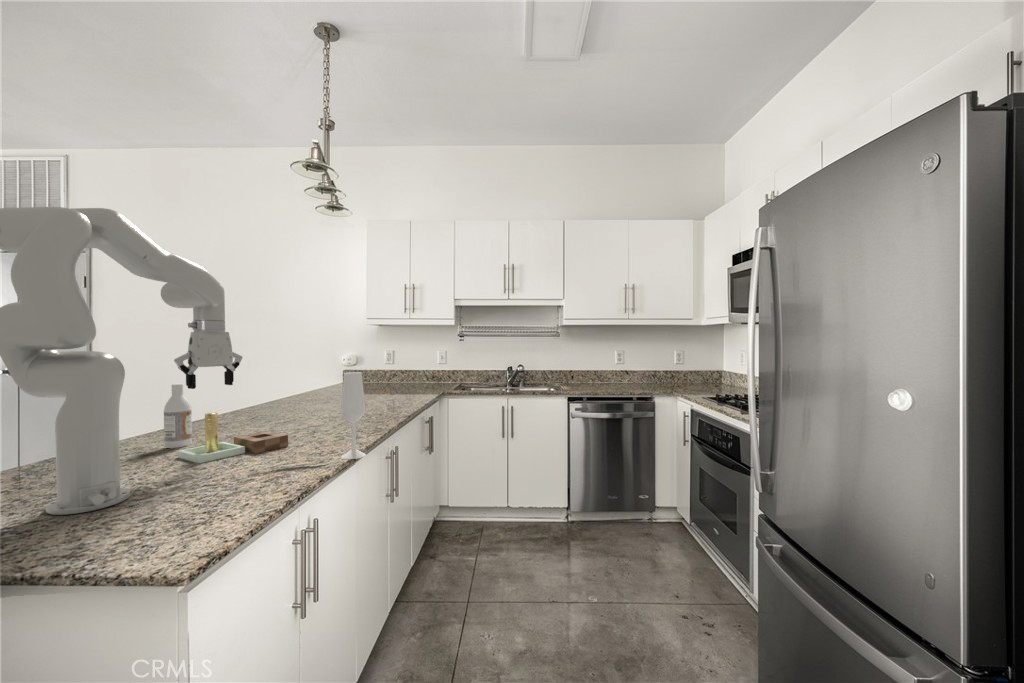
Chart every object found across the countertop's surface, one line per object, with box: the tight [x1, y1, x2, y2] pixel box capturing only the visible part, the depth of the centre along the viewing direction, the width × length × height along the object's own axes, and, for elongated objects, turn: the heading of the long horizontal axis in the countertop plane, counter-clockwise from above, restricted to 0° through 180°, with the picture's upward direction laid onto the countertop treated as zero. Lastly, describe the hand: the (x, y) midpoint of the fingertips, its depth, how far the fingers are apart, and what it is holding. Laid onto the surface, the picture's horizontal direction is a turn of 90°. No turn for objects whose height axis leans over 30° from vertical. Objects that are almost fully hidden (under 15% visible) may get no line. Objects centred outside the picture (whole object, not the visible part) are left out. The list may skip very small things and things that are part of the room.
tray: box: [177, 441, 246, 464], centre depth 127 cm, size 12×12×2 cm
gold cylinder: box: [204, 412, 219, 454], centre depth 126 cm, size 3×3×12 cm
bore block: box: [233, 430, 289, 454], centre depth 136 cm, size 12×10×4 cm
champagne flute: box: [340, 371, 367, 460], centre depth 127 cm, size 7×7×24 cm
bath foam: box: [163, 383, 193, 449], centre depth 139 cm, size 7×7×20 cm
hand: (210, 386), depth 126 cm, fingers open, 9 cm apart
